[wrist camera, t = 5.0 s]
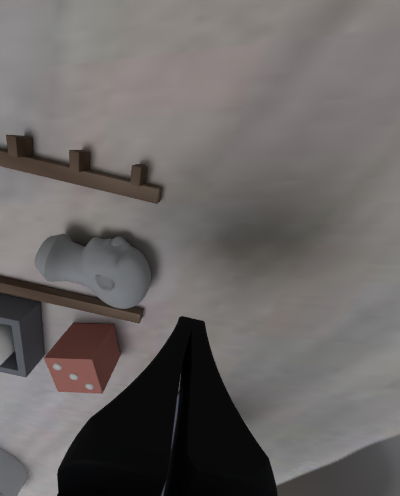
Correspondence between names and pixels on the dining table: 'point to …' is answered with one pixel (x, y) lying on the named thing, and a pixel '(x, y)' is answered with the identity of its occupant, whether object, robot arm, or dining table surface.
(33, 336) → the grey square tray
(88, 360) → the die
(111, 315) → the brown wooden frame
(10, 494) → the honey pot
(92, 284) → the smooth white sculpture
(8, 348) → the dome button
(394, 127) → the dining table surface
